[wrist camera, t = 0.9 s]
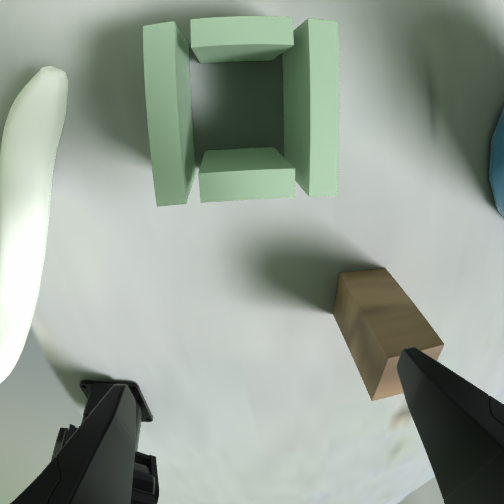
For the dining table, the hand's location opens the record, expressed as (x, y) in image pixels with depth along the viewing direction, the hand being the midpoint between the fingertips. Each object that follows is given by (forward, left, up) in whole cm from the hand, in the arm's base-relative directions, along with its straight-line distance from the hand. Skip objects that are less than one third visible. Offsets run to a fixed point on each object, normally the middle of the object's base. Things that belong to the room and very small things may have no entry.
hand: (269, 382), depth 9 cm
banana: (+3, +14, -13) cm, 19 cm away
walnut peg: (-7, -9, -13) cm, 17 cm away
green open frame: (+8, 0, -13) cm, 15 cm away
